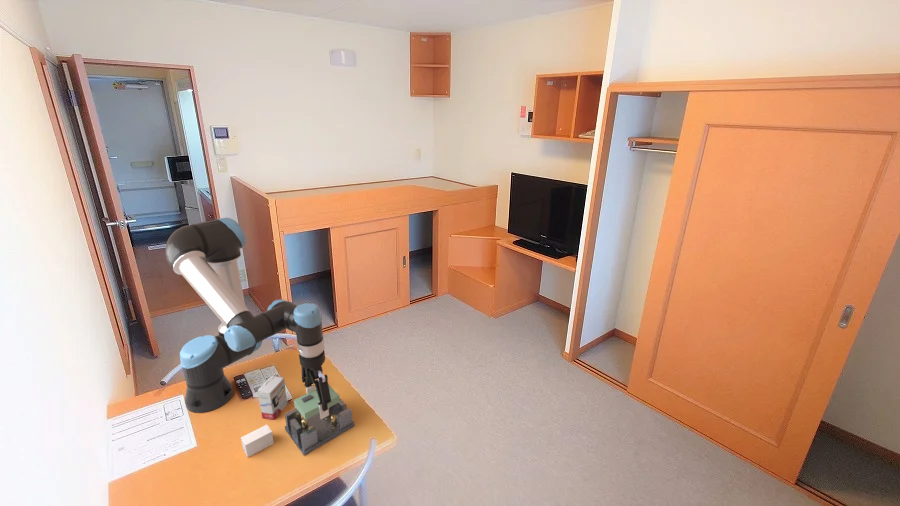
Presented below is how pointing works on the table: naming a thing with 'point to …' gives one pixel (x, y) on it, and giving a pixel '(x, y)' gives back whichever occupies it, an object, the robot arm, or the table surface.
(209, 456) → the table surface
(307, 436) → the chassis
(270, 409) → the ink box
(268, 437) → the riser
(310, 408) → the board
